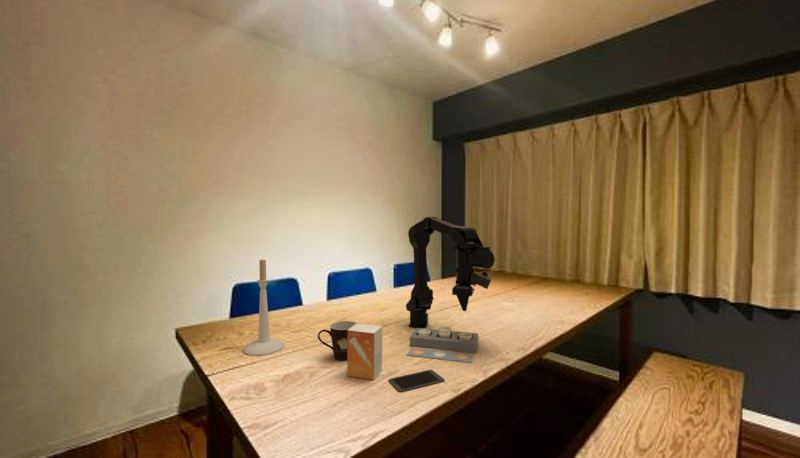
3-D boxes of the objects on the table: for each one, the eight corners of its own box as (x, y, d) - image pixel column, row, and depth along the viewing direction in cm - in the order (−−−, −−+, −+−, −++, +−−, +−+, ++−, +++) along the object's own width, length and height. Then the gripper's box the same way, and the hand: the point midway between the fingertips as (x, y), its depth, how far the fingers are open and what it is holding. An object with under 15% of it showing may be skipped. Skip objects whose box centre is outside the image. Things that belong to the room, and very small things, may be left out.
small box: (347, 376, 96) (346, 329, 95) (356, 366, 102) (356, 322, 101) (374, 380, 93) (374, 332, 93) (382, 370, 100) (382, 325, 99)
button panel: (409, 345, 118) (409, 337, 118) (416, 335, 128) (416, 327, 127) (476, 353, 112) (476, 343, 112) (478, 341, 121) (478, 333, 121)
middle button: (437, 339, 118) (437, 330, 118) (439, 335, 122) (439, 326, 122) (450, 341, 117) (450, 331, 117) (451, 336, 121) (451, 327, 121)
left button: (416, 341, 120) (416, 332, 120) (419, 337, 124) (419, 328, 124) (429, 343, 119) (429, 333, 119) (431, 338, 123) (431, 329, 123)
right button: (457, 346, 116) (457, 336, 116) (459, 341, 120) (459, 331, 120) (471, 347, 115) (471, 337, 115) (472, 342, 119) (472, 333, 119)
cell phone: (446, 382, 93) (446, 379, 93) (398, 394, 87) (398, 391, 87) (431, 371, 100) (431, 369, 100) (387, 381, 94) (387, 379, 94)
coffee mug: (362, 353, 112) (362, 322, 111) (350, 364, 104) (350, 331, 103) (330, 348, 116) (330, 318, 115) (316, 359, 107) (315, 326, 107)
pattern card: (406, 355, 110) (406, 354, 110) (411, 348, 116) (411, 347, 116) (471, 362, 104) (471, 361, 104) (472, 355, 110) (472, 353, 110)
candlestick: (236, 348, 116) (234, 258, 114) (273, 338, 125) (271, 255, 124) (253, 359, 107) (251, 262, 106) (291, 347, 116) (290, 258, 115)
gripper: (489, 270, 106) (488, 321, 107) (490, 261, 124) (490, 305, 125) (452, 268, 109) (451, 318, 110) (458, 260, 127) (458, 303, 128)
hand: (464, 310), depth 118 cm, fingers closed
